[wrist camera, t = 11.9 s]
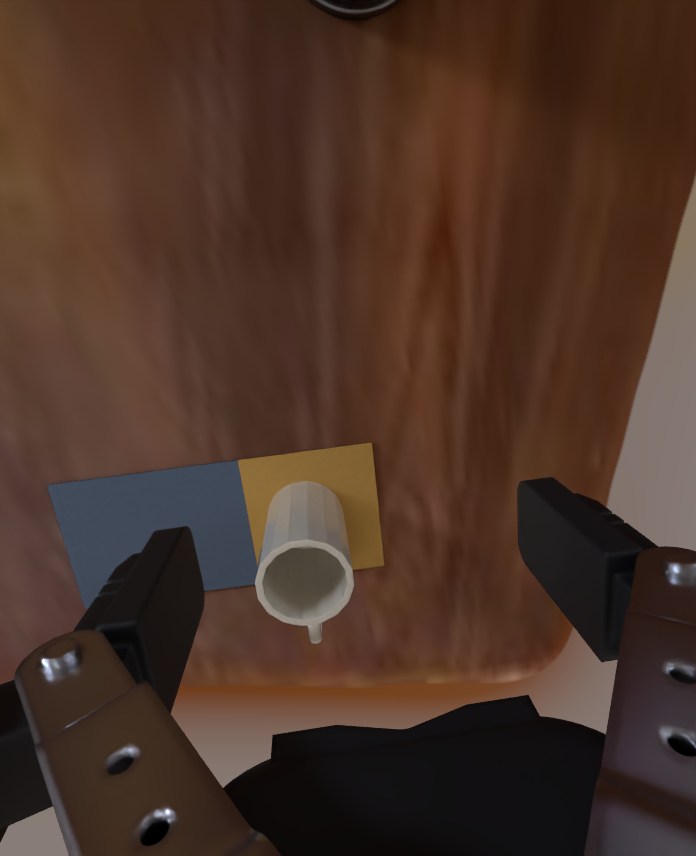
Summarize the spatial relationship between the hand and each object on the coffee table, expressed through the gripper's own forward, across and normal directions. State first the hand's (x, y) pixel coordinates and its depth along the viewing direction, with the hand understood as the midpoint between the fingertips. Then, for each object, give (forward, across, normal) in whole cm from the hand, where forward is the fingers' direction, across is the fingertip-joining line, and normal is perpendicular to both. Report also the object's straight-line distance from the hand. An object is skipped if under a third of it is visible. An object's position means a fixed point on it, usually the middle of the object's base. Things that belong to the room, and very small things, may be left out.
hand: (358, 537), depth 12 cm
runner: (+26, +10, +12) cm, 30 cm away
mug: (+26, +3, +13) cm, 29 cm away
